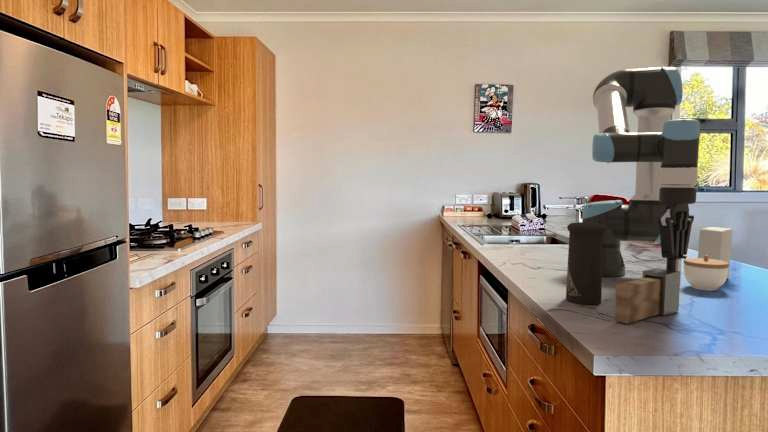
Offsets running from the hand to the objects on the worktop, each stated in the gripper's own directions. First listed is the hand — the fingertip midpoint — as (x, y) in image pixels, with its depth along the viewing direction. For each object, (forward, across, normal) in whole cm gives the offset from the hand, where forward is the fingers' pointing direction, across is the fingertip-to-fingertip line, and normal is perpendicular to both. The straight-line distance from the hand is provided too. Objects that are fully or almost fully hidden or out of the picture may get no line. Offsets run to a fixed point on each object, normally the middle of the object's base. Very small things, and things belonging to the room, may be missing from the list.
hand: (672, 285), depth 120 cm
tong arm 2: (+5, +13, +1) cm, 14 cm away
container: (+6, +11, -16) cm, 20 cm away
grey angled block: (+5, +5, 0) cm, 8 cm away
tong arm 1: (+5, +13, -1) cm, 14 cm away
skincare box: (+6, -46, -10) cm, 47 cm away
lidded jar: (+6, -30, -5) cm, 31 cm away
